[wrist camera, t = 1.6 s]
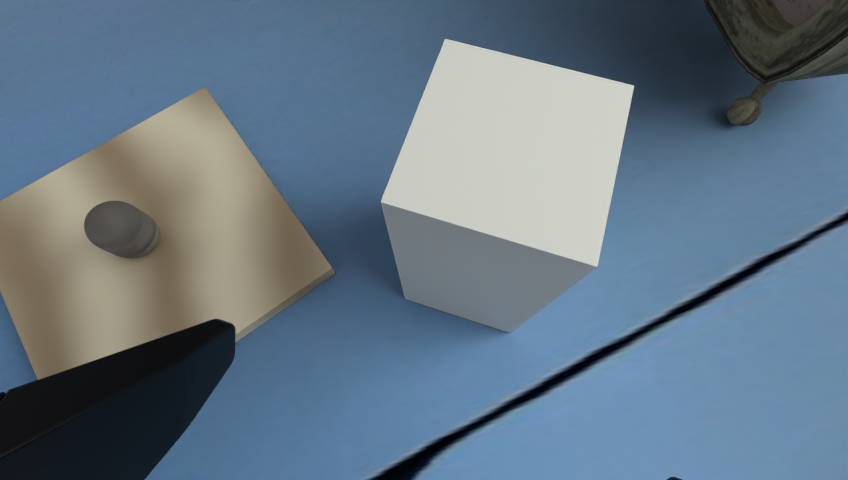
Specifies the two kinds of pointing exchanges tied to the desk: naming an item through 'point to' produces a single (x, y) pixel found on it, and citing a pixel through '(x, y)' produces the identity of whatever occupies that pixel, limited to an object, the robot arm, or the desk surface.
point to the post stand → (151, 241)
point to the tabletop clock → (781, 43)
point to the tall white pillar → (503, 184)
